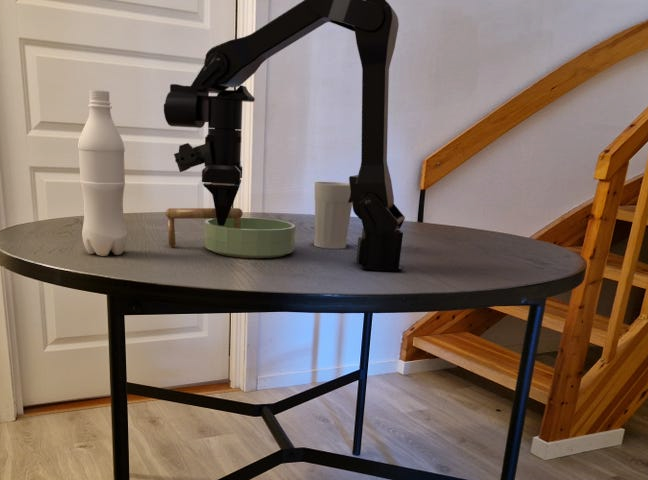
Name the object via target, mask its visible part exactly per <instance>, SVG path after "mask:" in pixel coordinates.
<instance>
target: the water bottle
mask: <svg viewBox="0 0 648 480" xmlns="http://www.w3.org/2000/svg"><path fill="white" fill-rule="evenodd" d="M88 95H89V96H88V97H89V101H88V105H87V108H89V112H88V117H87V120H86V122H85V124H84V126H83V128H82V131H81V133H80V135H79V138H78V143H77V150H78V161H79V162H78V163H79V182H80V187H81V190H82V191H81V192H82V198H83V224H82V230H81V236H82V237H81V238H82V243H83V246H84V248H85V250H86V252H87V253H88V254H90V255H93V254H96V255H98V256H100V257H107V256H108V255H109V254H110V251H111V252H112V253H113V254H114V255H115V256H119V255H122V254H123V252H124V251H125V248H126V246H127V241H128V232H127V228H126V223H125V216H124V192H125V186H126V177H125V176H126V174H125V151H126V150H125V145H124V144H125V143H124V141H123V139H122V136H121V134H120V132H119V130H118V128H117V126H116V125H115V121H113V117H112V113H111V109H112V106H111V102H110V91H106V90H95V89H91V90H89V91H88Z"/></svg>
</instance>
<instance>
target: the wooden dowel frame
mask: <svg viewBox="0 0 648 480" xmlns="http://www.w3.org/2000/svg"><path fill="white" fill-rule="evenodd" d="M243 214H244V213H243V210H242V209H241V208H239V207H231V209H230V212H229V215H228V217H227V219H234V223H235V228H239V229H241V217H243ZM165 217H166V218H167V231H168V232H167V235H168V246H169V247H170V248H174V247H175V246H176V245H177V244H176V243H177V242H176V227H175V226H176V225H175V220H176V219H177V220H178V219H179V220H180V219H185V220H186V219H187V220H189V219H190V220H193V219H195V220H196V219H197V220H199V219H202V220H203V219H205V220H208V219H217V217H216V211H215V207H205V208H204V207H177V208H176V207H175V208H174V207H170V208H167V209H166V210H165Z"/></svg>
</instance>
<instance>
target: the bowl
mask: <svg viewBox="0 0 648 480" xmlns="http://www.w3.org/2000/svg"><path fill="white" fill-rule="evenodd" d="M295 237H296V225H295V224H294V223H293V222H292V223H291V222H288V221H284V220H279V219H271V218H262V217H261V218H260V217H247V216H246V217H245V216H242V217H241V229H239V228H235V223H234V219H227V220H226V222H225V225H224V226H220V225H218V222H217V219H205V221H204V239H203V241H204V242H203V243H204V244H203V245H204V246H203V247H204V248H206V249H207V250H210V251H211V252H212V253H215V254H218V255H221V256H225V257H232V258H245V259H273V258H280V257H284V256H286V255H287V254H291V253H293V252H294V251H295V240H296V239H295Z"/></svg>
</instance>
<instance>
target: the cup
mask: <svg viewBox="0 0 648 480" xmlns="http://www.w3.org/2000/svg"><path fill="white" fill-rule="evenodd" d="M350 193H351V190H350V183H349V182H338V181H314V241H313V246H314V247H316V248H317V247H318V248H321V249H331V250H341V249H346V248H347V238H348V232H349V226H350V221H351V214H352V209H353V206H352V203H353V202H351V203H349V202H348V201H349V198H350Z"/></svg>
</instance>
